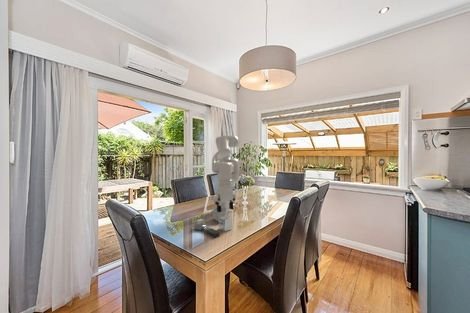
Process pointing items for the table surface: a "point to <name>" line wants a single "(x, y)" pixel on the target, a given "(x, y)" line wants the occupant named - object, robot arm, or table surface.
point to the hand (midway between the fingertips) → (225, 210)
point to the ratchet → (205, 229)
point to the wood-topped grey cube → (225, 223)
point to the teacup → (219, 213)
